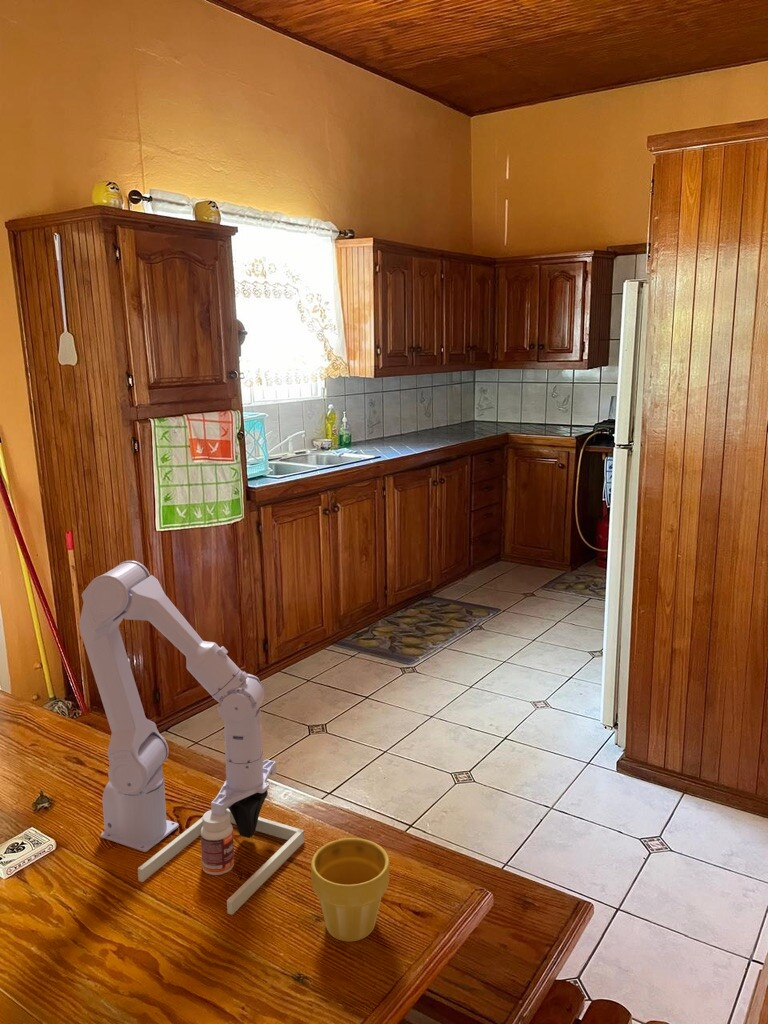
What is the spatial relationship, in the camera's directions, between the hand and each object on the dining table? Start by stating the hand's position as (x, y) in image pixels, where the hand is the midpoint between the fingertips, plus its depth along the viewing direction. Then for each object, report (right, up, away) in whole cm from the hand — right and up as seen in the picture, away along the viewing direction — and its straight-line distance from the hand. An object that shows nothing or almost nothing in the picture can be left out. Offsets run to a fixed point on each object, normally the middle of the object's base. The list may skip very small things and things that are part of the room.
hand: (246, 834), depth 126 cm
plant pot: (+17, -5, -19) cm, 26 cm away
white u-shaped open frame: (-3, -2, -5) cm, 6 cm away
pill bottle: (-3, -2, -6) cm, 7 cm away
